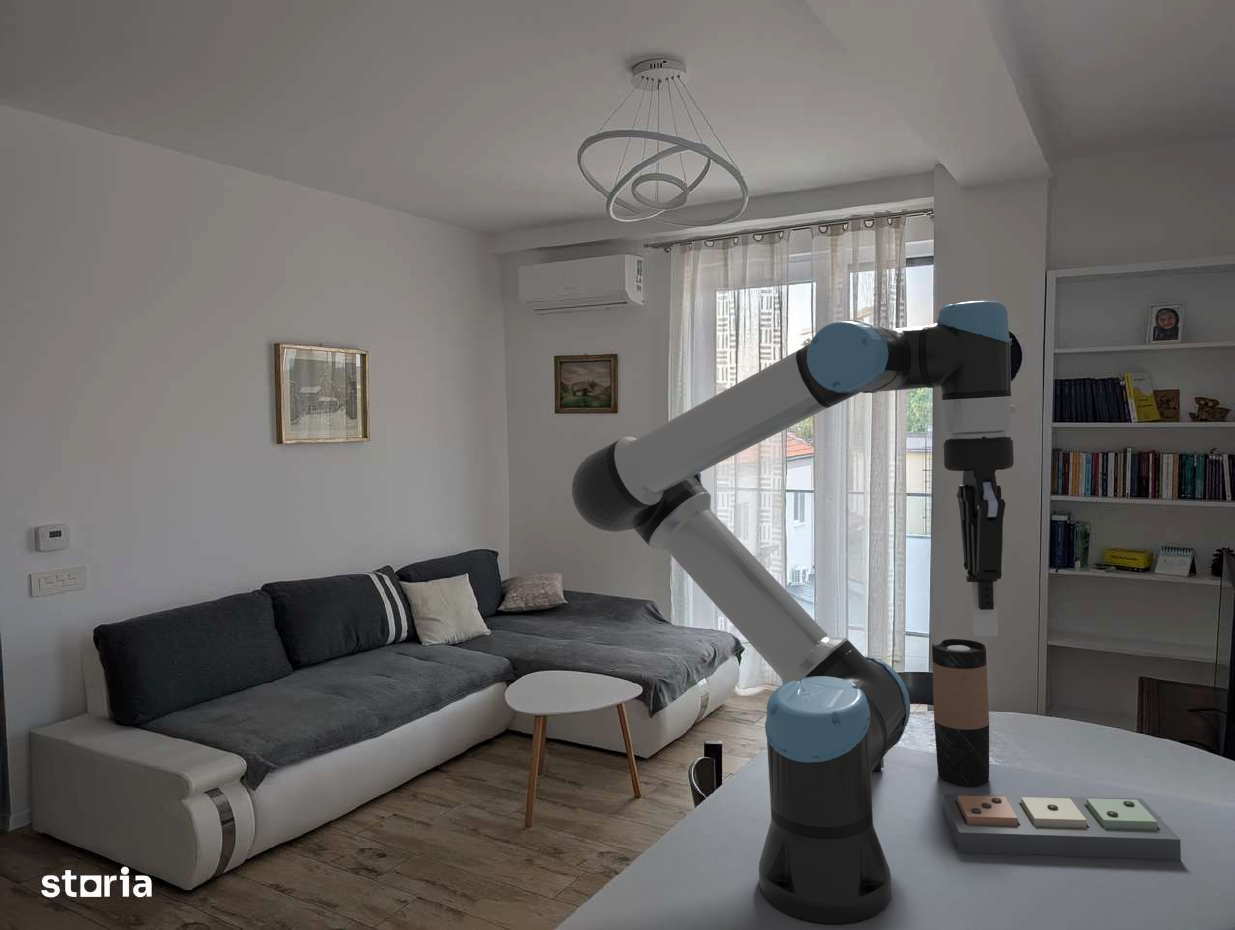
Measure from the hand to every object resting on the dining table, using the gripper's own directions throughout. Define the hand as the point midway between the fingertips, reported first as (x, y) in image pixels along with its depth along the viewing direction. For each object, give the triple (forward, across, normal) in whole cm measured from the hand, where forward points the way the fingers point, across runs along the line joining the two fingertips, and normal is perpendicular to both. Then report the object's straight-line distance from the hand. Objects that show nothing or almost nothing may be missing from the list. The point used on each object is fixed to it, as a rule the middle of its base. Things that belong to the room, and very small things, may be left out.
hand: (984, 634), depth 101 cm
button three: (+28, +9, -2) cm, 29 cm away
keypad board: (+28, +9, -10) cm, 31 cm away
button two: (+28, +9, -17) cm, 34 cm away
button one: (+28, +9, -10) cm, 31 cm away
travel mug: (+29, +26, -2) cm, 39 cm away
